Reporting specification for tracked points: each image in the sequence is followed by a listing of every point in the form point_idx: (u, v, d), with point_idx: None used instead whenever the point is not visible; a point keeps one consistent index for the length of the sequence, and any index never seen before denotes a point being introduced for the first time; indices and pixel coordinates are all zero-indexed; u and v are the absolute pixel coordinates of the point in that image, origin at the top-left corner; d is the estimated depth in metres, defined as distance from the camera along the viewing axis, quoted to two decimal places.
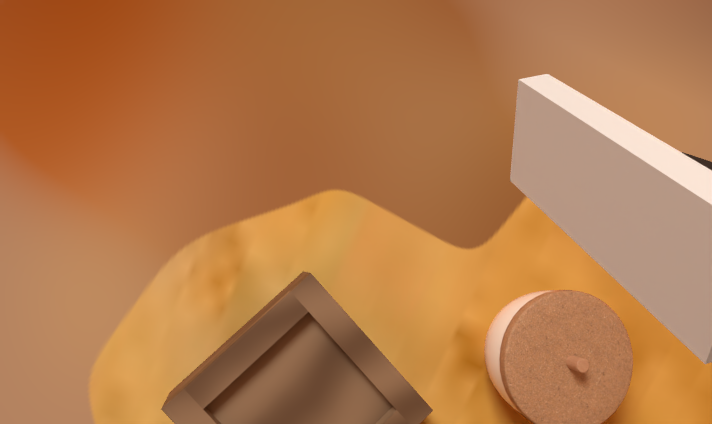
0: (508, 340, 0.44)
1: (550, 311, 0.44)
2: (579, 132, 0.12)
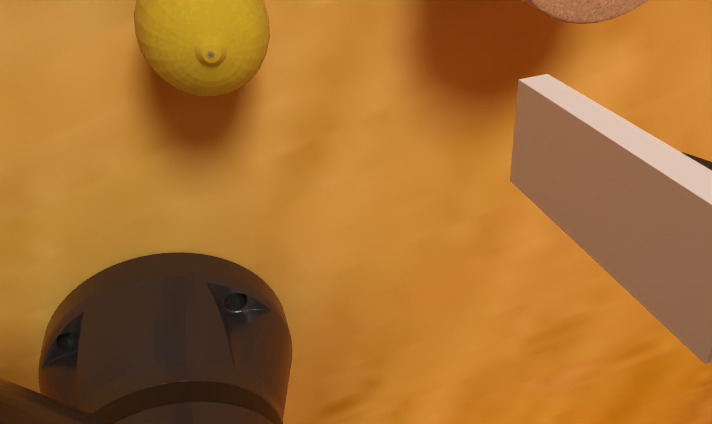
0: None
1: None
2: (579, 132, 0.12)
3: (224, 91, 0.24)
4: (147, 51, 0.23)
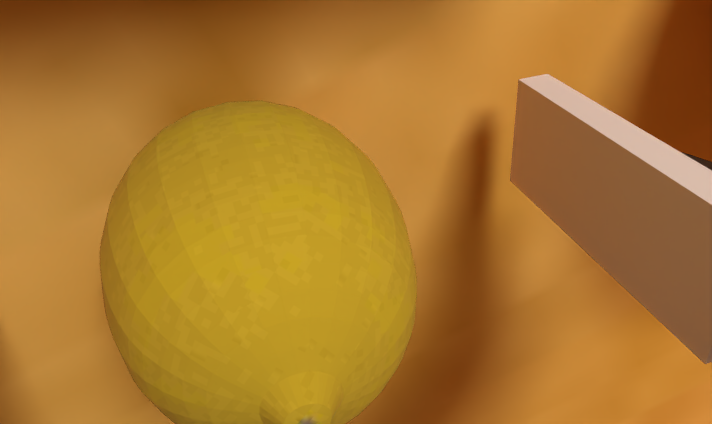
0: None
1: None
2: (579, 132, 0.12)
3: None
4: (131, 372, 0.09)
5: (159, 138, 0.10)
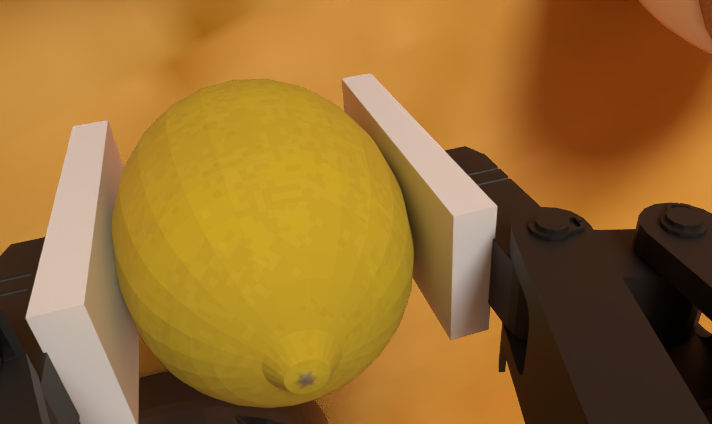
0: None
1: None
2: (372, 127, 0.13)
3: None
4: (141, 332, 0.10)
5: (168, 113, 0.11)
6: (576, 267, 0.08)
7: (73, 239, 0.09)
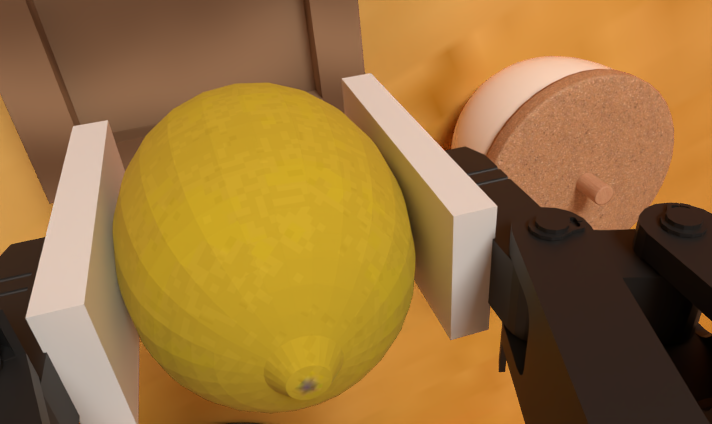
0: (543, 103, 0.26)
1: (619, 101, 0.27)
2: (372, 127, 0.13)
3: None
4: (142, 337, 0.10)
5: (170, 116, 0.11)
6: (575, 268, 0.08)
7: (73, 239, 0.09)
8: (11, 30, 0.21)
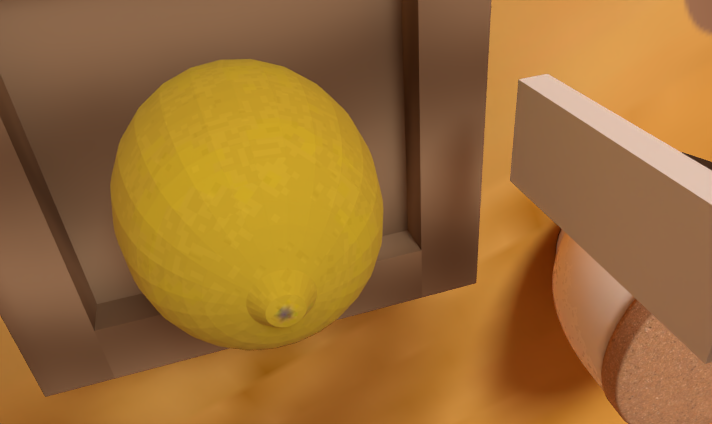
0: None
1: None
2: (579, 132, 0.12)
3: None
4: (138, 280, 0.11)
5: (161, 87, 0.12)
6: None
7: None
8: None
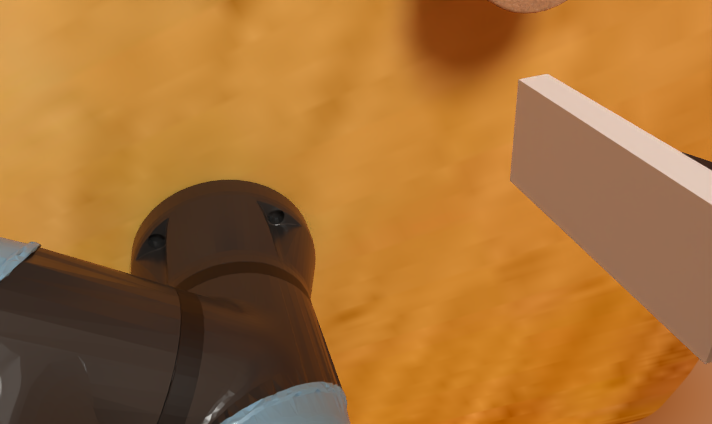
0: None
1: None
2: (579, 132, 0.12)
3: None
4: None
5: None
6: None
7: None
8: None
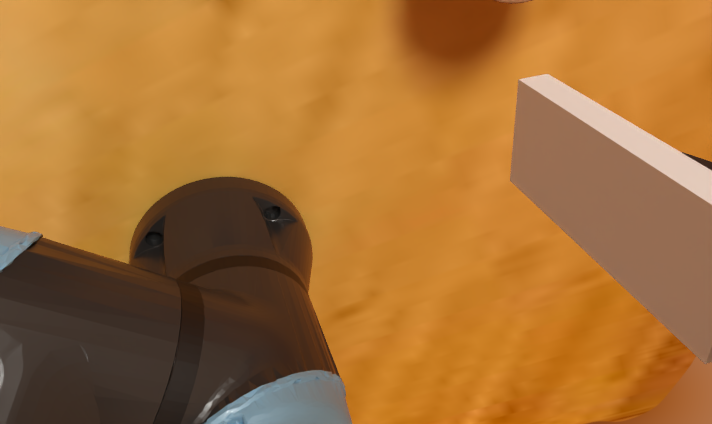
0: None
1: None
2: (579, 132, 0.12)
3: None
4: None
5: None
6: None
7: None
8: None
